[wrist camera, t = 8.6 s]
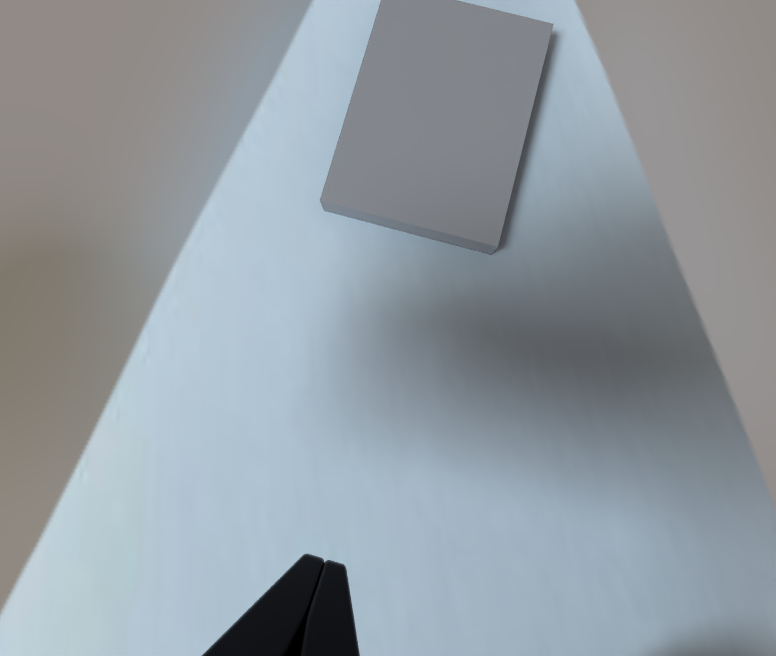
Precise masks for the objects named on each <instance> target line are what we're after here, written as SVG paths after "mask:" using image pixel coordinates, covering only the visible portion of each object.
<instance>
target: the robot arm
mask: <svg viewBox="0 0 776 656" xmlns="http://www.w3.org/2000/svg"><path fill="white" fill-rule="evenodd" d="M202 656H360V654H359V648H358V641H357V635H356V628H355V622H354V615H353V609H352V602H351V596H350V590H349V583H348V577H347V570H346V567H345V565H344V564H341V563H337V562H334V561H331V560H327V561H325V563H324V560H323V558H320V557H317V556H314V555H310V554H304V555H303V556H302V557H301V558H300V559H299V560H298V561H297V562H296V563H295V564H294V565H293V566H292V567H291V568H290V569H289V570H288V571H287V572H286V573H285V574H284V575H283V576H282V577H281V578H280V579H279V580H278V581H277V582H276V583H275V584H274V585H273V586H272V587H271V588H270V589H269V590H268V591H267V592H266V593H265V594H264V595H263V596H262V597H260V598H259V599H258V600H257V601H256V602H255V603H254V604H253V605H252V606H251V607H250V608H249V609H248V610H247V611H246V612H245V613H244V614H243V615H242V616H241V617H240V618H239V619H238V620H237V621H236V622H235V623H234V624H233V625H232V626H231V627H230V628H229V629H228V630H227V631H226V632H225V633H224V634H223V635H222V636H221V637H220V638H219V639H218V640H217V641H216V642H215V643H214V644H213V645H212V646H211V647H210V648H209V649H208V650H207V651H206V652H205V653H204V654H203V655H202Z"/></svg>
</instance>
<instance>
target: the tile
mask: <svg viewBox="0 0 776 656" xmlns="http://www.w3.org/2000/svg"><path fill="white" fill-rule="evenodd" d="M552 28H553V24H552V23H547V22H543V21H539V20H535V19H531V18H527V17H523V16H519V15H515V14H510V13H506V12H502V11H498V10H494V9H490V8H486V7H482V6H478V5H474V4H469V3H465V2H461V1H457V0H381V2H380V5H379V9H378V12H377V15H376V19H375V22H374V25H373V28H372V32H371V35H370V38H369V41H368V45H367V48H366V51H365V55H364V58H363V61H362V64H361V68H360V71H359V74H358V77H357V81H356V84H355V87H354V91H353V94H352V97H351V100H350V104H349V107H348V110H347V113H346V117H345V120H344V123H343V126H342V130H341V133H340V136H339V140H338V143H337V146H336V149H335V153H334V156H333V159H332V162H331V166H330V169H329V172H328V176H327V179H326V182H325V185H324V189H323V192H322V195H321V198H320V202H321V204H322V207H323V209H324V211H327V212H331V213H335V214H339V215H342V216H346V217H350V218H354V219H358V220H361V221H365V222H369V223H373V224H377V225H380V226H384V227H388V228H392V229H396V230H399V231H403V232H407V233H411V234H415V235H418V236H422V237H426V238H430V239H434V240H437V241H441V242H445V243H449V244H453V245H456V246H460V247H464V248H468V249H471V250H475V251H479V252H483V253H487V254H490V255H491V254H492V253H493V252H494V251H495V250H496V249H497V248H498V245H499V241H500V237H501V233H502V229H503V225H504V221H505V217H506V213H507V209H508V205H509V201H510V197H511V193H512V189H513V185H514V181H515V177H516V173H517V169H518V165H519V161H520V156H521V152H522V148H523V144H524V140H525V136H526V132H527V128H528V124H529V120H530V116H531V112H532V108H533V104H534V100H535V96H536V92H537V88H538V84H539V80H540V76H541V72H542V68H543V64H544V60H545V56H546V52H547V48H548V44H549V40H550V36H551V32H552Z"/></svg>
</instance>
